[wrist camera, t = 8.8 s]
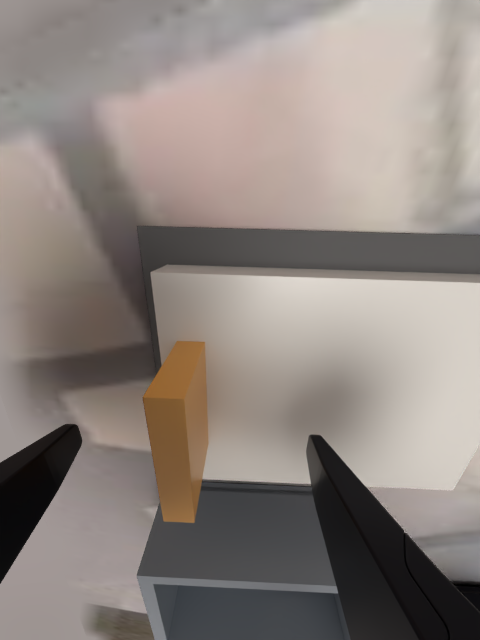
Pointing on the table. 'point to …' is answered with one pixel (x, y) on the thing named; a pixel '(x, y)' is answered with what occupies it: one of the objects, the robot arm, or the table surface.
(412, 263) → the mat
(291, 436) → the lid
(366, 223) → the table surface
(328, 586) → the parts tub
